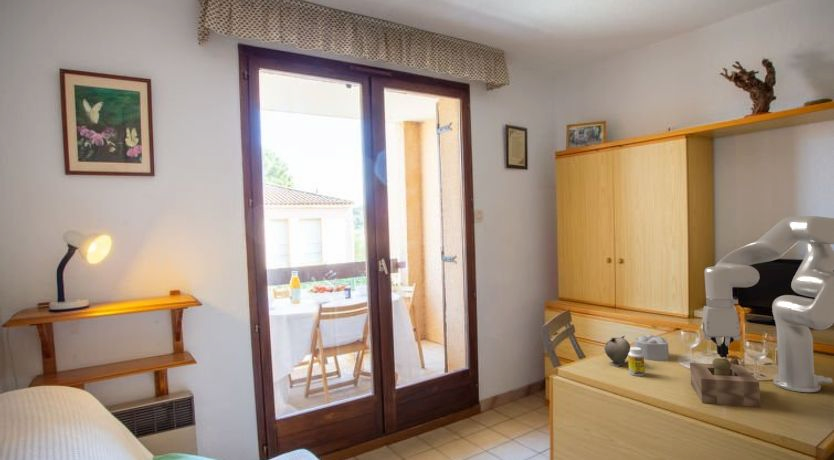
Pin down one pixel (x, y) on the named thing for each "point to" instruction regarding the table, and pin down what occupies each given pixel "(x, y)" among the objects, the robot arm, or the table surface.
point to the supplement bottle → (636, 361)
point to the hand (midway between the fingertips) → (722, 356)
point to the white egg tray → (653, 347)
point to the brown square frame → (725, 385)
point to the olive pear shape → (721, 367)
